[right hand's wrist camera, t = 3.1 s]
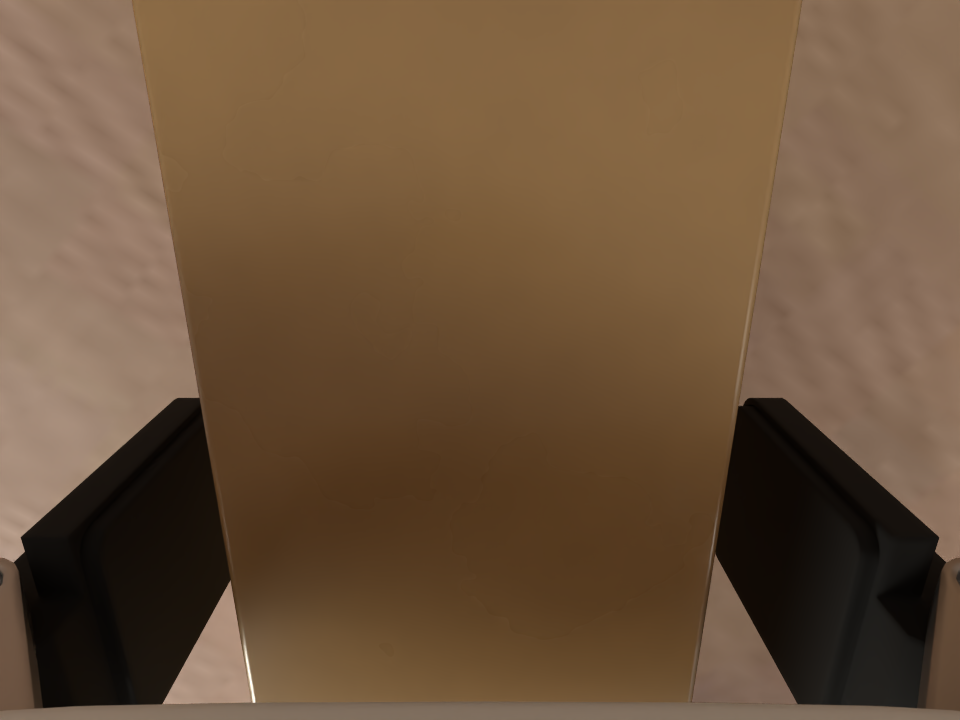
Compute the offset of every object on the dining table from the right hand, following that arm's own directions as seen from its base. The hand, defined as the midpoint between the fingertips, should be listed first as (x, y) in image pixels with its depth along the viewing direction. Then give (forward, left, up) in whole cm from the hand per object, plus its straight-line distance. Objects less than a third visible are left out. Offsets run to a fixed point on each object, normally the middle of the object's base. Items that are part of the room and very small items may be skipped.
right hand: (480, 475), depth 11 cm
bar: (+8, -26, -3) cm, 28 cm away
